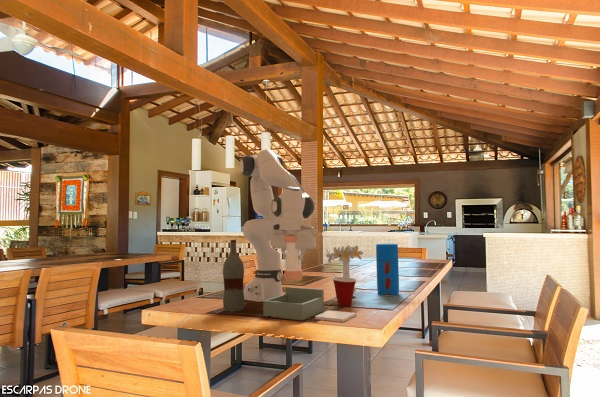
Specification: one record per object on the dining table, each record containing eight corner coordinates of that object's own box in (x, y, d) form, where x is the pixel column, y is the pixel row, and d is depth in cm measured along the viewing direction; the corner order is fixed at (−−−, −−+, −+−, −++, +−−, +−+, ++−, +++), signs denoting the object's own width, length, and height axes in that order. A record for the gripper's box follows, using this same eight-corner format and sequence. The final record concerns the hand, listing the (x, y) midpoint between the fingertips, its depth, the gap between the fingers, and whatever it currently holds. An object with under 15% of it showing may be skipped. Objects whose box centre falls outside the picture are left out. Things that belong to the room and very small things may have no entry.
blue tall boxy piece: (377, 295, 213) (376, 244, 214) (377, 292, 223) (375, 243, 224) (399, 295, 211) (398, 244, 212) (398, 292, 221) (397, 243, 223)
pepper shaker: (304, 279, 173) (303, 232, 174) (286, 280, 171) (285, 232, 172) (300, 277, 180) (299, 231, 181) (283, 278, 178) (282, 232, 179)
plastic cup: (356, 308, 183) (355, 279, 184) (331, 307, 185) (330, 279, 186) (358, 303, 194) (357, 276, 194) (334, 302, 196) (333, 276, 197)
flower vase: (327, 294, 220) (326, 245, 221) (363, 294, 218) (362, 244, 219) (326, 298, 207) (325, 246, 208) (364, 298, 205) (363, 246, 206)
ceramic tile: (314, 318, 164) (314, 316, 164) (328, 312, 175) (328, 310, 175) (343, 322, 158) (343, 319, 158) (355, 315, 169) (355, 313, 169)
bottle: (238, 313, 178) (238, 240, 179) (219, 312, 180) (218, 240, 182) (248, 308, 187) (247, 239, 188) (229, 307, 189) (228, 239, 191)
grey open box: (263, 316, 171) (263, 293, 172) (286, 307, 187) (286, 286, 187) (302, 320, 162) (302, 296, 163) (324, 311, 178) (323, 289, 178)
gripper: (318, 225, 174) (319, 260, 174) (276, 225, 184) (276, 257, 184) (311, 226, 169) (312, 261, 168) (268, 225, 179) (268, 259, 178)
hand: (293, 259), depth 176 cm, fingers closed on pepper shaker, 5 cm apart
